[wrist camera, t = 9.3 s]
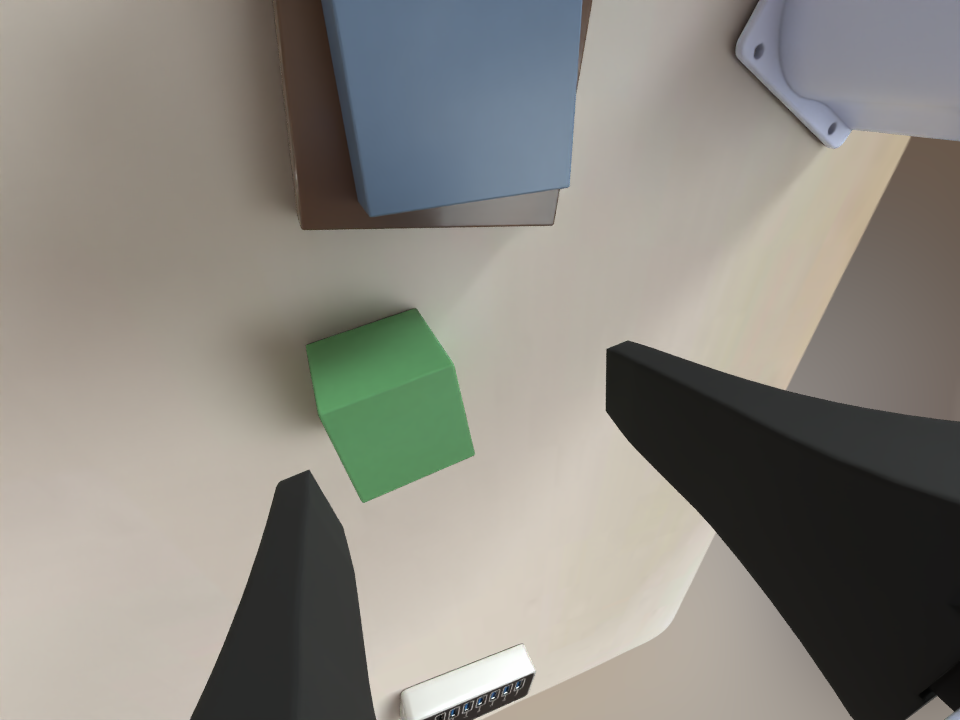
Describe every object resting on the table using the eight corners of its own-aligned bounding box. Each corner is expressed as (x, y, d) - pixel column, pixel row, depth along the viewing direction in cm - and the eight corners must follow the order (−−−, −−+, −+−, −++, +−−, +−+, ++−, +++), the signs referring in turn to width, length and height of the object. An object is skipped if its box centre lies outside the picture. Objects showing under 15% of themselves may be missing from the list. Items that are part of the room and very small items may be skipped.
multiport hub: (516, 668, 42) (528, 695, 40) (399, 717, 37) (406, 750, 35) (524, 642, 39) (537, 669, 38) (401, 690, 35) (409, 724, 33)
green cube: (416, 306, 19) (454, 363, 15) (438, 390, 21) (475, 455, 18) (304, 344, 18) (317, 415, 14) (343, 427, 20) (362, 504, 17)
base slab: (575, -84, 14) (611, -101, 13) (531, 214, 19) (554, 226, 17) (252, -177, 11) (251, -214, 9) (297, 215, 15) (301, 231, 14)
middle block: (552, -75, 12) (590, -93, 11) (542, 177, 16) (570, 187, 15) (304, -87, 10) (312, -111, 9) (358, 203, 14) (369, 218, 13)
